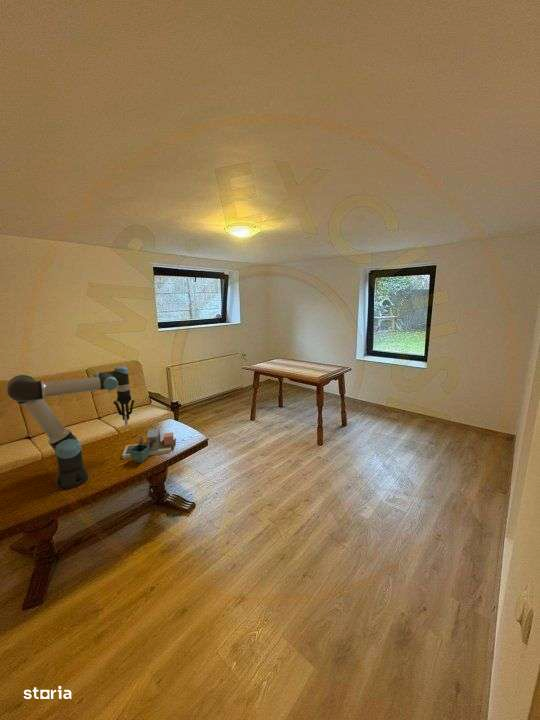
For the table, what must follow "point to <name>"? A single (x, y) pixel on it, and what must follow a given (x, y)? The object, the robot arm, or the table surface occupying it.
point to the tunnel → (153, 438)
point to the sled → (153, 444)
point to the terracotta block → (168, 438)
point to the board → (161, 451)
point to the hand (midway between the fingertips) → (126, 424)
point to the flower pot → (139, 453)
